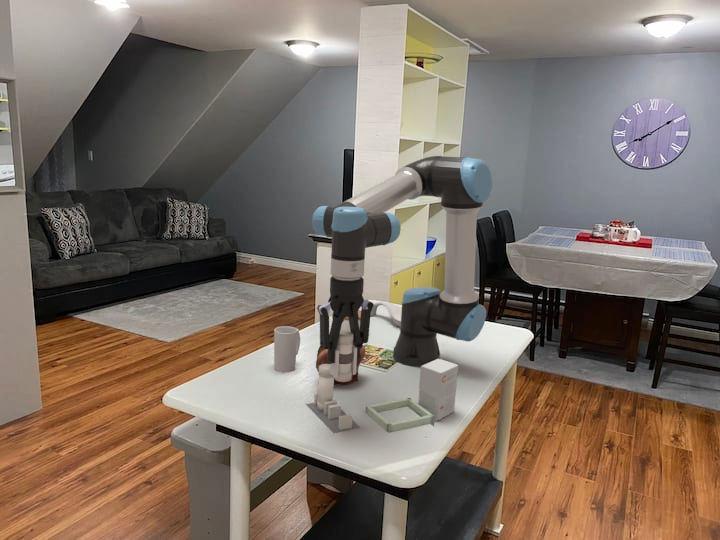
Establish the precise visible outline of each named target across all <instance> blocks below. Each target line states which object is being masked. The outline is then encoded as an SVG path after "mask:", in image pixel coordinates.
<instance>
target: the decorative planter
mask: <svg viewBox="0 0 720 540" xmlns="http://www.w3.org/2000/svg"><path fill="white" fill-rule="evenodd" d="M352 345H353V343H352ZM362 345H363V347H362V348H360V358H359V359H357V364H356V374H355V375H353V374H352V379H351V380H350V381H348V382H339V381H336V380H335V379H334V386H335V385H336V386H337V385H338V386H339V385H340V386H344V385H345V386H346V385H349V384H350V385H351V384H353V383H354V382H358V381H359V367H360V365H361V363H362V361H363V360H364V358H365V355H366V348H365V346H364V344H362ZM316 353H317V354H316V361H315V368H316V371H317V372H318V373H317V374H319V366H320V365H322V364H331V363H329V362H328V349H325V348H323V347H322V346H321V345H320V344H319V347H318V350H317V352H316Z"/></svg>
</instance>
